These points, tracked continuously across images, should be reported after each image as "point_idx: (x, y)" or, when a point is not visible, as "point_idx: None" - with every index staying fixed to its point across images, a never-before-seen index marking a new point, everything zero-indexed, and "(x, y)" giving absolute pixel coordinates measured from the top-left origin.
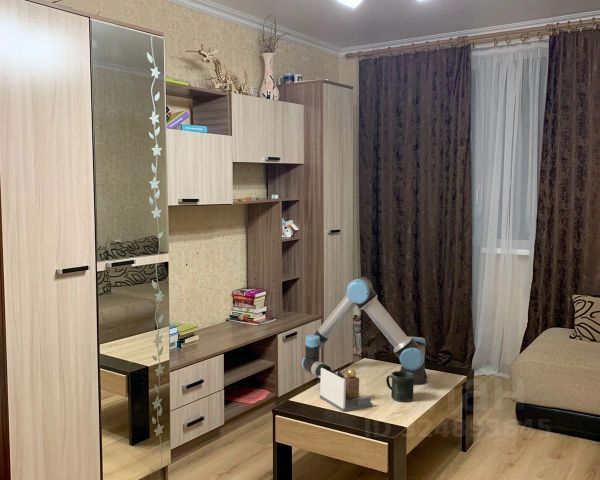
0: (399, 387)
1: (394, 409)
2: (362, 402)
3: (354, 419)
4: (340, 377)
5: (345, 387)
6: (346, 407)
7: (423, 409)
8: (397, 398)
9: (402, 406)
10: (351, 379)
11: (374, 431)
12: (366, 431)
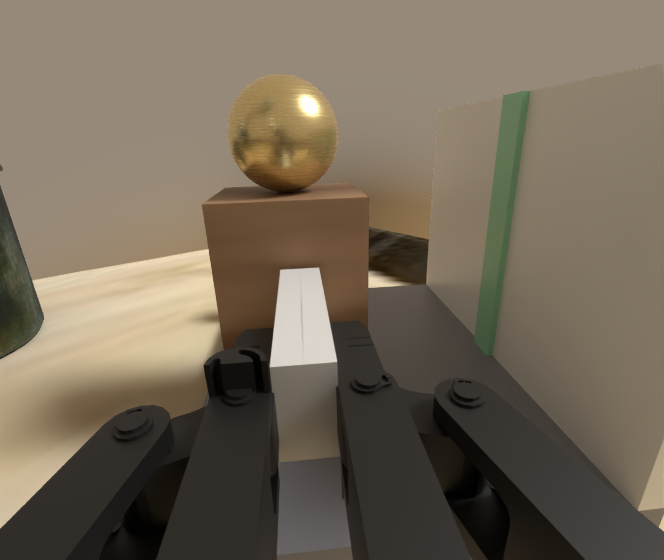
0: (17, 237)
1: (178, 285)
2: None
3: (407, 264)
4: (466, 104)
5: (435, 161)
6: (414, 287)
7: (79, 273)
8: (40, 310)
9: (110, 295)
10: (312, 185)
11: (378, 233)
12: (401, 234)
